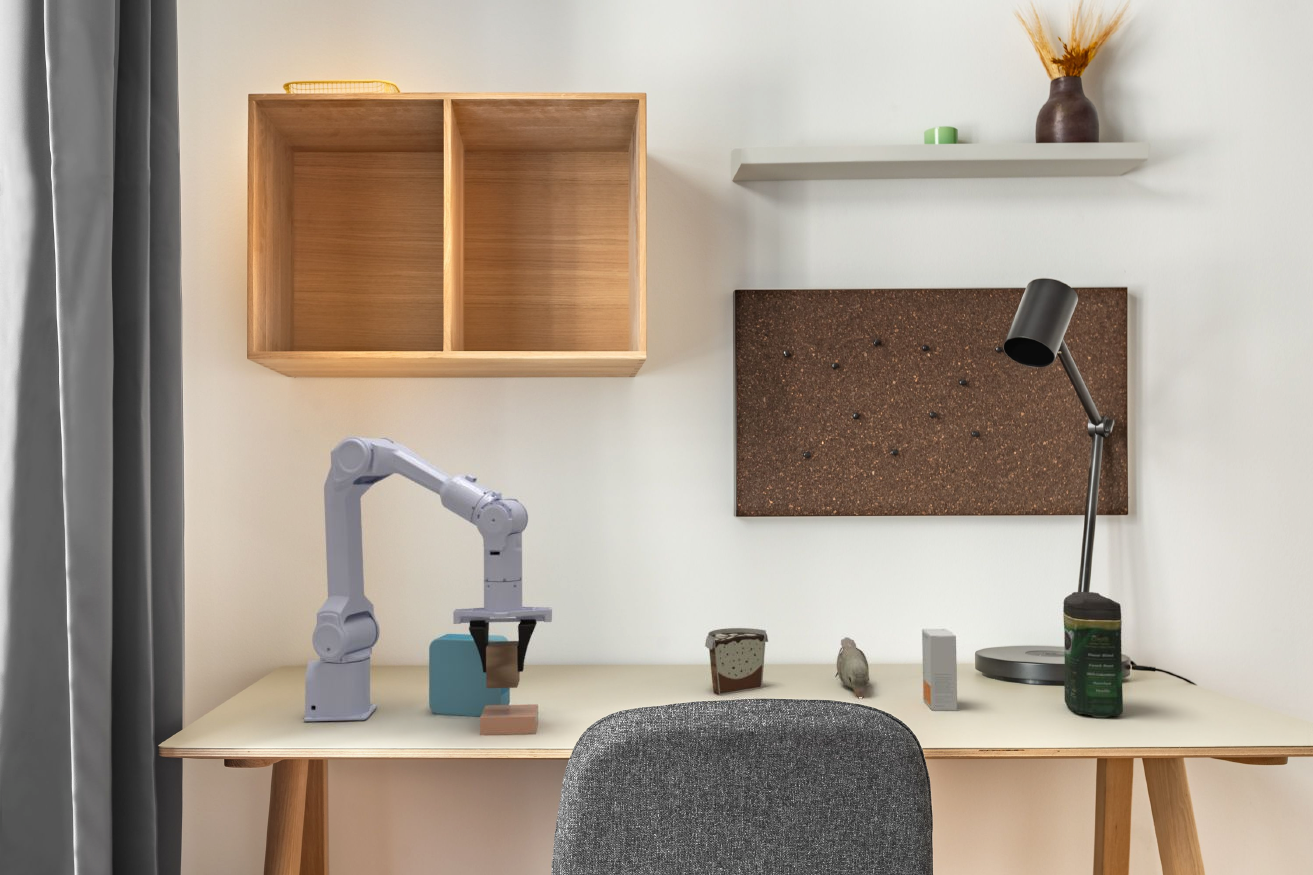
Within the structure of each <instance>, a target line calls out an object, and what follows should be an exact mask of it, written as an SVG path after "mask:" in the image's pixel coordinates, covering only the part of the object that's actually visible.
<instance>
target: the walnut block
mask: <svg viewBox="0 0 1313 875" xmlns="http://www.w3.org/2000/svg"><path fill="white" fill-rule="evenodd" d="M518 655H519V640H508V641H491V642H489V643H488V645H487V647H486V688H510V689H517V688H518V686H519V684H520V680H521V678H520V674H521V673H520V672H518Z"/></svg>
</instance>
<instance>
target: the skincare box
mask: <svg viewBox="0 0 1313 875" xmlns="http://www.w3.org/2000/svg"><path fill="white" fill-rule="evenodd" d="M921 632H922V633H921V635H922V636H921V638H922V639H921V641H922V643H921V645H922V697H923V698H922V699H923V702H925V704H926V705H927V706H928V708H930V710H931V711H945V712H946V711H947V712H948V711H949V712H950V711H951V712H952V711H953V712H954V711H955V712H956V711H958V682H957V680H958V678H957V677H958V676H957V675H958V674H957V673H958V671H957V670H958V669H957V667H958V666H957V636H956V635H955V634H954V633H953V632H952V631H950V630H948V629H946V628H922V629H921Z"/></svg>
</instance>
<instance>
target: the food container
mask: <svg viewBox="0 0 1313 875" xmlns="http://www.w3.org/2000/svg"><path fill="white" fill-rule="evenodd" d="M768 638H769V637H768V633H767V631H766V630H765V629H759V628H751V627H750V628H748V627H747V628H746V627H730V628H729V627H728V628H719V629H714V630H711V631H709V632H708V634H707V636H706V639H705V644H704V647H706V648H707V649H708V650H709V652H708V653H709V660H710V663H709V664H710V670H711V671H710V672H711V683H712V692H713V694H715V695H716V694H717V695H716V696H719V695H720V696H725V695H731V694H736V693H743V692H746V691H747V692H748V691H752V690H753V691H754V690H760V689H763V683H764V682H763V681H764V680H763V679H764V667H765V666H764V664H765V654H766V653H765V652H766V643H769V639H768Z"/></svg>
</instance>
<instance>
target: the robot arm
mask: <svg viewBox="0 0 1313 875" xmlns="http://www.w3.org/2000/svg"><path fill="white" fill-rule="evenodd" d="M394 474H398V475H400V476H402V477H404V478H406V479H408V480H410V481H412V482H414V483H415V484H418V485H419V486H421V487H423V488H425V489H427V490H430V491H431V492H432V493H435V494H436V495H439V496H440V502H441V505H442V506H443V507H444V508H445V509H447V510H449V511H451V512H452V513H454V514H455V515H457V516H459V517H461V518H462V519H464V520H466V521H467V522H469V523H470V524H472V525H474V526H475V527H476V528H477V530H478V533H480V535H481V536H482V537H481V538H482V540H483V541H482V542H483V546H482V547H483V607H471V608H455V609H454V610H453V613H452V614H453V615H452V616H453V624H454V625H461V624H469V627H468V630H469V633H470V634H471V636H472V637H473V639H474V642H475V644H476V646H477V649H478V652H479V655H480V658H481V662H482V667H483V673H486V647H487V645H488V638H489V635H490V634H489V633H490V632H489V631H490V623H519V624H518V625H517V632H518V633H517V634H518V635H517V637H518V641H519V655H518V672H522V673H523V672H524V669H525V667H524V666H525V659H526V654H527V651H528V647H529V644H530V640H531V638H532V635H533V633H534V631H535V628H536V626H537V623H538V622H544V623H552V620H553V607H548V606H547V607H544V606H540V607H539V606H523V532H524V531H525V530H526V528H527V526H528V522H529V514H528V510H527V508H526V507H525V505H523V503H521V502H520V501H519V500H518V499H517V498H513V497H511V498H510V497H508V498H504V499H503V497H502V495H503V494H502V492H501V491H499V490H491V489H489V488H487V487H486V486H484V485H483V484H481V483H479V482H477V480H478V478H477V476H474V475H473V474H466V475H465V474H461V473H460V474H456V475H455V476H451V475H449V474H448V473H446V472H445V471H443V470H441V469H440V468H439V467H437V466H435V465H434V464H432V463H431V462H429V461H428V460H426V459H425V458H423V457H421V456H420V455H418V454H417V453H415V452H413V450H411V449H409V448H408V447H407V446H406V445H404V444H402V443H397V442H396V441H394V440H392V439H391V438H387V437H381V438H372V437H371V438H370V437H360V436H349V437H345V438H344V439H343V440H341V441H340V442H339V443H338V445H336V446H335V447H334V448H333V449H332V450H331V451H330V468H329V470H328V474H327V477H326V479H325V482H324V485H323V496H324V498H323V499H324V525H325V529H324V530H325V531H324V532H325V553H326V554H325V555H326V556H325V557H326V576H327V577H326V578H327V579H326V580H327V598H326V600H325V602H324V603H323V604H322V606H320V609H319V610H318V611H317V613H316V625H315V628H314V631H313V634H312V638H311V639H312V642H311V643H312V647H313V650H314V651H315V653H316V654H317V655H318V656H319V658H314V659H311V660H310V661H309V662H308V664H307V666H306V672H305V681H304V684H305V685H304V686H305V687H304V690H305V692H304V698H305V699H304V702H305V703H304V704H305V705H304V718H303V721H304V722H325V721H326V722H328V721H331V722H332V721H336V722H337V721H365V720H367V719H368V718H369V717H370V716H371V715H372V713H373V712H374V711H375V710H376V709H377V708H378V704H375V703H373V704H372V703H371V655H372V654H373V648H374V646H375V645H376V644H377V643H378V641H379V639H380V638H379V637H380V633H381V630H380V625H379V621H378V620H377V618H376V616H375V609H374V604H373V603H372V601H371V600H370V599H368V597H367V596H366V595H365V581H364V556H363V555H364V554H363V553H364V552H363V550H364V549H363V531H362V530H363V529H362V504H361V502H362V501H361V498H362V496H363V495H364V494H366V492H367V491H368V490H369V489H370V488H371V487H373V486H374V485H375V484H376V483H378V482H380V481H382V480H384V479H386V478H388V477H390V476H392V475H394Z"/></svg>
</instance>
